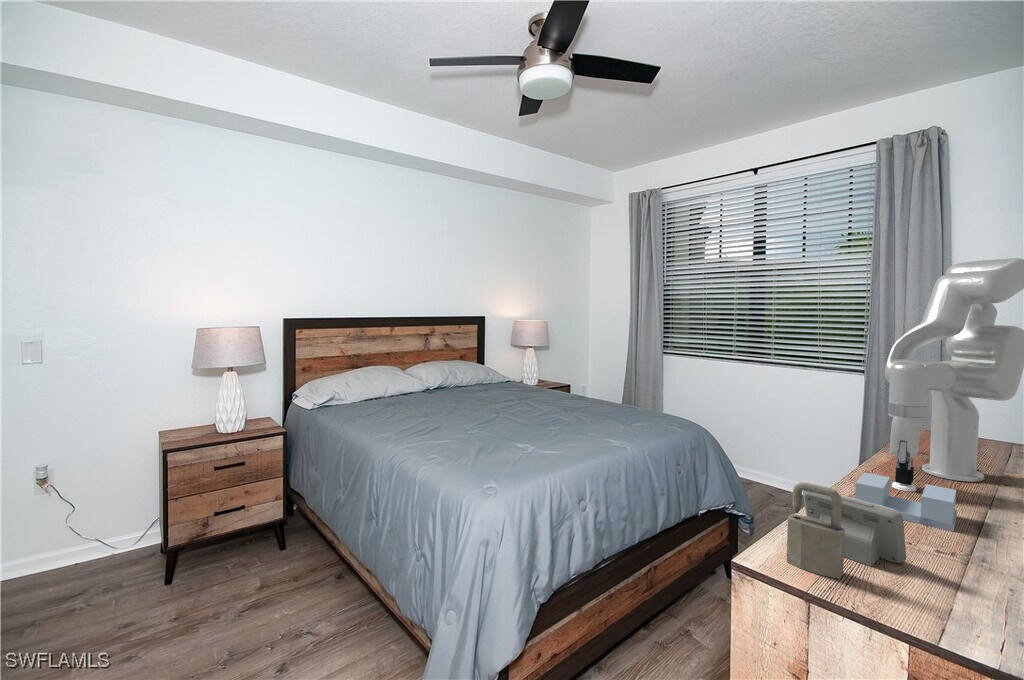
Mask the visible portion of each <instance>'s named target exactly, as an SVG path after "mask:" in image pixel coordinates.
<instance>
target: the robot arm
mask: <svg viewBox="0 0 1024 680" xmlns="http://www.w3.org/2000/svg"><path fill="white" fill-rule="evenodd" d="M1023 290H1024V259H1023V258H1020V257H1019V258H1017V257H1015V258H1013V257H1012V258H999V259H998V258H997V259H987V260H986V259H985V260H973V261H972V260H970V261H965V262H959V263H955V264H953V265H950V266H949V267H948V268H946V271H945V273H944V275H941V276H939V277H938V278H937V280H936V281H935V283H934V286H933V288H932V291H931V294H930V295H929V296H930V297H929V300H928V303H927V305H926V307H925V311H924V315H923V317H922V320H921V322H920V323H918V325H916V326H913V328H911V329H909V330H908V331H906V332H904V333H903V335H901V336H900V337H899V338H898V339H897V340H896V342H894V344H893V345H892V347H891V349H890V351H889V354H888V356H887V359H886V363H885V367H884V378H885V380H886V381H887V383H888V385H889V387H888V388H889V389H888V405H887V406H888V408H887V411H888V413H887V415H888V416H889V417H892V419H891V420H892V421H891V428H890V438H889V439H890V443H889V452H888V453H889V455H890V456H894V455H896V466H895V481H894V482H896V483H901V484H906V485H911V484H912V483H913V481H914V474H915V473H914V472H915V471H914V470H915V468H914V466H913V465H914V458H915V457H916V455H917V453H918V449H919V442H920V431H921V429H920V428H921V421H925V420H927V415H928V414H927V413H928V412H927V410H928V391H930V393H931V423H930V426H931V427H930V442H929V443H930V444H929V445H930V449H929V463H924V464H922V465H921V470H922V471H924V472H925V473H927V474H928V475H932V476H935V477H938V478H943V479H947V480H951V481H953V480H954V481H958V482H968V483H969V482H970V483H971V482H972V483H973V482H977V483H978V482H982V481H984V480H985V475H984V474H983V473H982V472H980V471H977V463H978V446H979V445H978V443H979V425H980V424H979V423H980V414H979V411H978V408H977V407H976V405H975V404H974V403H973V401H972V400H971V398H973V399H981V400H989V401H1001V402H1003V401H1008V400H1011V399H1013V398H1014V396H1015V395H1016V393H1017V392H1018V390H1019V386H1020V383H1021V378H1022V375H1023V373H1024V329H1023V328H1021V327H1018V326H1015V325H1014V326H1013V325H1003V324H1002V325H998V324H997V325H996V323H995V322H996V320H997V319H996V318H997V314H998V310H997V307H996V306H995V305H994V304H998V303H1003V302H1005V301H1007V300H1009V299H1011V298H1012V297H1014V296H1015V295H1017V294H1018V293H1020V292H1022V291H1023ZM945 339H946V342H945V350H946V353H947V354H948V356H949V355H950V357H953V358H957V359H964V360H943V361H936V360H935V361H934V360H922V359H912V358H911V359H909V358H910V357H911V356H912V354H914V353H915V352H916V351H917V350H918V349H920V348H922V347H923V346H926V345H929V344H931V343H932V344H933V343H935V342H939V341H942V340H945ZM967 360H968V361H967ZM969 360H972V361H969ZM973 360H974V361H973ZM975 360H976V361H975ZM977 361H991V362H992V363H991V362H977ZM993 362H994V363H993ZM906 455H907V456H906ZM912 485H913V484H912Z"/></svg>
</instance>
